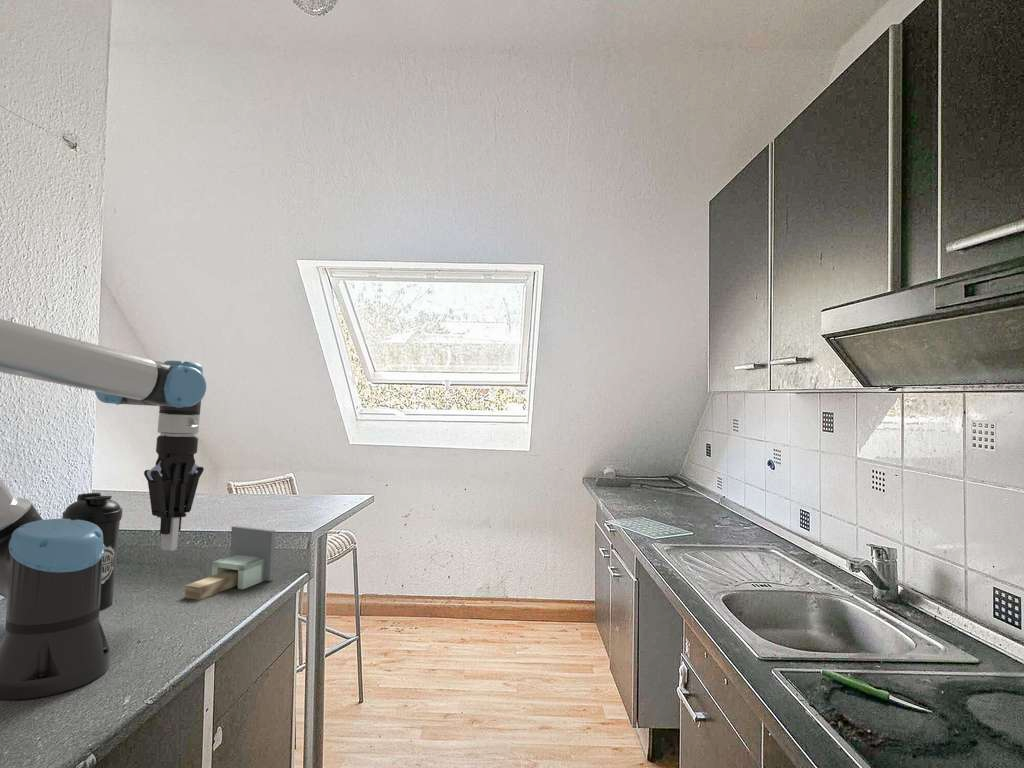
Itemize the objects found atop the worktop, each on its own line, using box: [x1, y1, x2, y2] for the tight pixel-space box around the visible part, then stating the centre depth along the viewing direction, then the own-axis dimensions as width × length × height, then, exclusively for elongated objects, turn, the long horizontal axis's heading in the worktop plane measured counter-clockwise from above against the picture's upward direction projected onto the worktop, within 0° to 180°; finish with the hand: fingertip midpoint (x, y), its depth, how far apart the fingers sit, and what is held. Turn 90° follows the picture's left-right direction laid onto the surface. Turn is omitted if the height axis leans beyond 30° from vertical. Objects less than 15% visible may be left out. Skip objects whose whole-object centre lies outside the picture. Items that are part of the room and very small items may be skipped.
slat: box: [184, 569, 238, 601], centre depth 135 cm, size 14×4×3 cm, turn 163°
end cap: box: [211, 525, 276, 590], centre depth 141 cm, size 8×12×12 cm
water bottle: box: [61, 492, 123, 611], centre depth 122 cm, size 10×10×23 cm
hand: (168, 549), depth 122 cm, fingers closed
